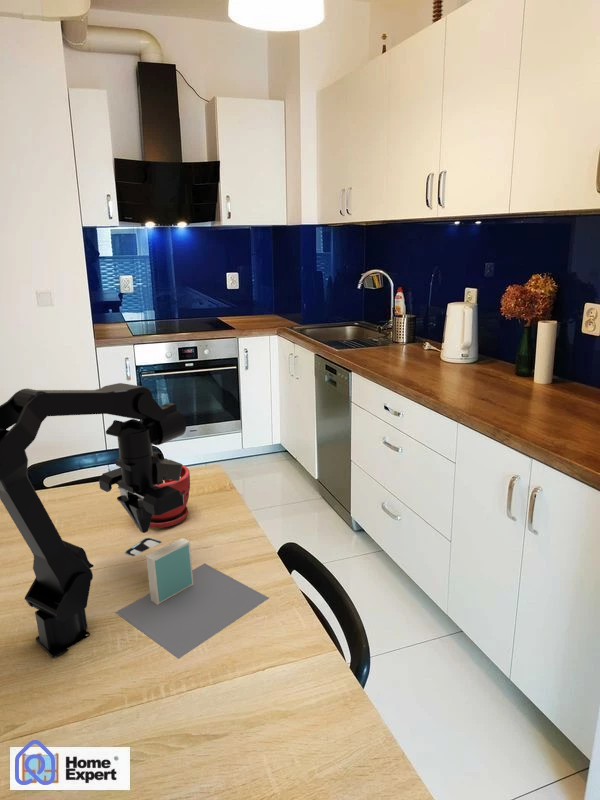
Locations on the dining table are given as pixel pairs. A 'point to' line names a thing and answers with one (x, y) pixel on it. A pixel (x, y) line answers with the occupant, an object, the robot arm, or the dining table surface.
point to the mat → (193, 611)
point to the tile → (169, 570)
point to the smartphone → (142, 546)
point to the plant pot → (179, 512)
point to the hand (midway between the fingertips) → (144, 531)
